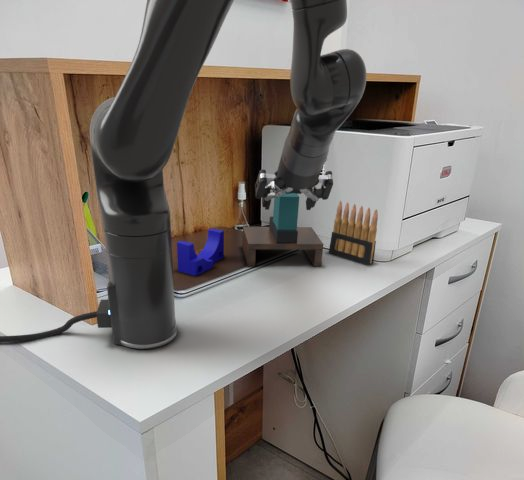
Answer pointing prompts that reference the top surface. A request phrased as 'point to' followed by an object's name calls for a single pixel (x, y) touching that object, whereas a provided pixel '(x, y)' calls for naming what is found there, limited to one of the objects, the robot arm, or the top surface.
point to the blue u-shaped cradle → (201, 254)
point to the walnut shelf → (265, 240)
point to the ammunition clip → (354, 235)
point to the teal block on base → (285, 218)
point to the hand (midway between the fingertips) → (287, 205)
